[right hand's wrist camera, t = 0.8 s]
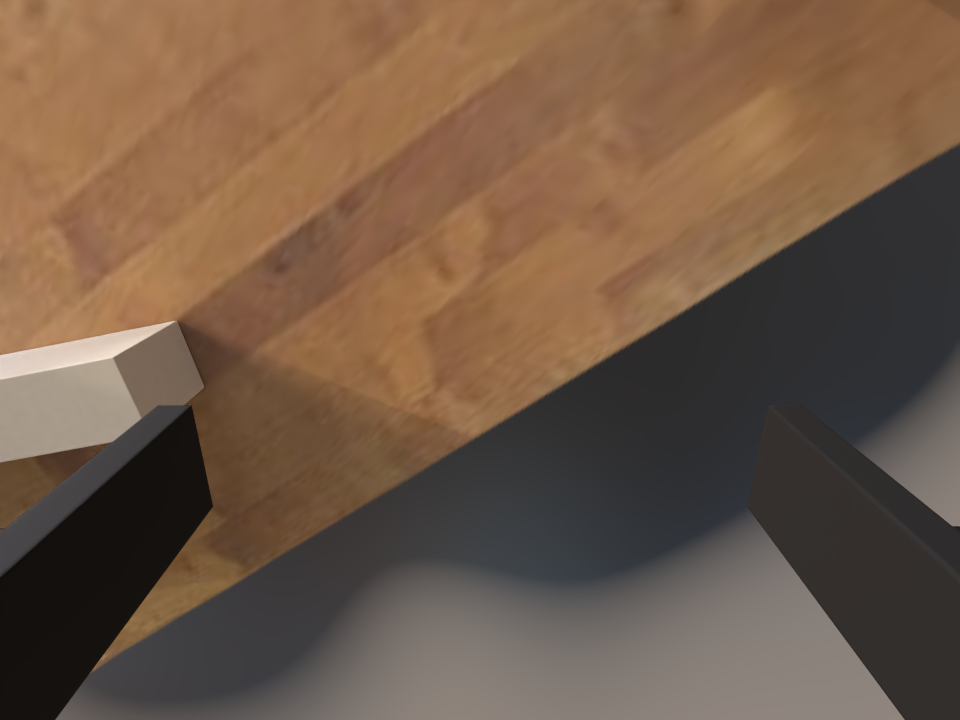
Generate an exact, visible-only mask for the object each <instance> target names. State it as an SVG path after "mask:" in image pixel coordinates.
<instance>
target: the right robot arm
mask: <svg viewBox="0 0 960 720" xmlns="http://www.w3.org/2000/svg"><path fill="white" fill-rule="evenodd" d="M212 507H213V504H212V499H211V494H210V490H209V485H208V480H207V476H206V471H205V466H204V462H203V457H202V452H201V447H200V443H199V438H198V433H197V429H196V424H195V419H194V414H193V410H192V405H158V406H156V407H155V408H154V409H153V410H151V411H150V412H149V413H148V414H146V415H145V416H144V417H143V418H141V419H140V420H139V421H138V422H137V423H135V424H134V425H133V426H132V427H130V428H129V429H128V430H127V431H125V432H124V433H123V434H122V435H120V436H119V437H118V438H117V439H115V440H114V441H113V442H112V443H110V444H109V445H108V446H107V447H106V448H104V449H103V450H102V451H101V452H99V453H98V454H97V455H96V456H94V457H93V458H92V459H91V460H89V461H88V462H87V463H86V464H84V465H83V466H82V467H81V468H79V469H78V470H77V471H76V472H75V473H73V474H72V475H71V476H70V477H68V478H67V479H66V480H65V481H63V482H62V483H61V484H60V485H58V486H57V487H56V488H55V489H53V490H52V491H51V492H50V493H48V494H47V495H46V496H45V497H44V498H42V499H41V500H40V501H39V502H37V503H36V504H35V505H34V506H32V507H31V508H30V509H29V510H27V511H26V512H25V513H24V514H22V515H21V516H20V517H19V518H17V519H16V520H15V521H14V522H13V523H11V524H10V525H9V526H8V527H6V528H1V529H0V720H55V719H56V718H57V717H58V715H59V714H60V712H61V711H62V710H63V708H64V707H65V706H66V704H67V703H68V702H69V700H70V699H71V698H72V696H73V695H74V693H75V692H76V691H77V690H78V688H79V687H80V685H81V684H82V683H83V681H84V680H85V679H86V677H87V676H88V675H89V673H90V672H91V671H92V669H93V668H94V667H95V665H96V664H97V663H98V661H99V660H100V658H101V657H102V656H103V654H104V653H105V652H106V650H107V649H108V648H109V646H110V645H111V644H112V642H113V641H114V640H115V638H116V637H117V635H118V634H119V633H120V631H121V630H122V629H123V627H124V626H125V625H126V623H127V622H128V621H129V619H130V618H131V617H132V615H133V614H134V613H135V611H136V610H137V608H138V607H139V606H140V604H141V603H142V602H143V600H144V599H145V598H146V596H147V595H148V594H149V592H150V591H151V590H152V588H153V587H154V585H155V584H156V583H157V581H158V580H159V579H160V577H161V576H162V575H163V573H164V572H165V571H166V569H167V568H168V567H169V565H170V564H171V562H172V561H173V560H174V558H175V557H176V556H177V554H178V553H179V552H180V550H181V549H182V548H183V546H184V545H185V544H186V542H187V541H188V540H189V538H190V537H191V535H192V534H193V533H194V531H195V530H196V529H197V527H198V526H199V525H200V523H201V522H202V521H203V519H204V518H205V517H206V515H207V514H208V512H209V511H210V510H211V508H212ZM747 507H748V508H749V510H750V511H751V512H752V514H753V515H754V516H755V518H756V519H757V521H758V522H759V523H760V525H761V526H762V527H763V529H764V530H765V531H766V533H767V534H768V535H769V537H770V538H771V540H772V541H773V542H774V544H775V545H776V546H777V547H778V549H779V550H780V552H781V553H782V554H783V556H784V557H785V558H786V560H787V561H788V562H789V564H790V565H791V567H792V568H793V569H794V571H795V572H796V573H797V575H798V576H799V577H800V579H801V580H802V581H803V583H804V584H805V585H806V587H807V588H808V590H809V591H810V592H811V594H812V595H813V596H814V598H815V599H816V600H817V602H818V603H819V604H820V606H821V607H822V608H823V610H824V611H825V613H826V614H827V615H828V617H829V618H830V619H831V621H832V622H833V623H834V625H835V626H836V627H837V629H838V630H839V631H840V633H841V634H842V635H843V637H844V638H845V640H846V641H847V642H848V644H849V645H850V646H851V648H852V649H853V650H854V652H855V653H856V654H857V656H858V657H859V658H860V660H861V661H862V663H863V664H864V665H865V667H866V668H867V669H868V671H869V672H870V673H871V675H872V676H873V677H874V679H875V680H876V681H877V683H878V684H879V685H880V687H881V688H882V690H883V691H884V692H885V694H886V695H887V696H888V698H889V699H890V700H891V702H892V703H893V704H894V706H895V707H896V708H897V710H898V711H899V713H900V714H901V715H902V717H903V718H904V719H905V720H960V527H959V526H951V525H950V524H949V523H947V522H946V521H945V520H944V519H943V518H941V517H940V516H939V515H938V514H936V513H935V512H934V511H933V510H931V509H930V508H929V507H928V506H926V505H925V504H924V503H923V502H921V501H920V500H919V499H918V498H916V497H915V496H914V495H913V494H911V493H910V492H909V491H908V490H907V489H905V488H904V487H903V486H902V485H900V484H899V483H898V482H897V481H895V480H894V479H893V478H892V477H890V476H889V475H888V474H887V473H885V472H884V471H883V470H882V469H881V468H879V467H878V466H877V465H876V464H874V463H873V462H872V461H871V460H869V459H868V458H867V457H866V456H864V455H863V454H862V453H861V452H859V451H858V450H857V449H856V448H854V447H853V446H852V445H851V444H849V443H848V442H847V441H846V440H845V439H843V438H842V437H841V436H840V435H838V434H837V433H836V432H835V431H833V430H832V429H831V428H830V427H828V426H827V425H826V424H825V423H823V422H822V421H821V420H820V419H819V418H817V417H816V416H815V415H814V414H812V413H811V412H810V411H809V410H807V409H806V408H805V407H804V406H802V405H769V406H768V410H767V415H766V419H765V424H764V429H763V433H762V438H761V443H760V448H759V452H758V457H757V462H756V466H755V471H754V476H753V480H752V485H751V490H750V495H749V500H748V504H747Z"/></svg>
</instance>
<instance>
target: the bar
mask: <svg viewBox="0 0 960 720" xmlns="http://www.w3.org/2000/svg"><path fill="white" fill-rule="evenodd" d="M203 388H204V384H203V382H202V380H201V377H200V375H199V372H198V370H197V368H196V365H195V363H194V360H193V358H192V356H191V353H190V351H189V348H188V346H187V344H186V341H185V339H184V336H183V334H182V332H181V329H180V327H179V324H178V322H177V321H172V322H167V323H162V324H157V325H151V326H146V327H141V328H136V329H131V330H126V331H121V332H116V333H111V334H106V335H101V336H96V337H91V338H86V339H81V340H76V341H71V342H65V343H60V344H55V345H50V346H45V347H40V348H35V349H30V350H25V351H20V352H15V353H10V354H5V355H0V463H1V462H6V461H12V460H17V459H23V458H28V457H34V456H39V455H44V454H50V453H55V452H61V451H66V450H72V449H77V448H83V447H88V446H94V445H99V444H105V443H110V442H113V441H114V440H115V439H117V438H118V437H119V436H120V435H122V434H123V433H124V432H125V431H127V430H128V429H129V428H130V427H132V426H133V425H134V424H135V423H137V422H138V421H139V420H140V419H141V418H143V417H144V416H145V415H146V414H148V413H149V412H150V411H151V410H153V409H154V408H155V407H156V406H158V405H185V404H186V403H187V402H188V401H189V400H191V399H192V398H193V397H194V396H195V395H196V394H197V393H199V392H200V391H201V390H202V389H203Z"/></svg>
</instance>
